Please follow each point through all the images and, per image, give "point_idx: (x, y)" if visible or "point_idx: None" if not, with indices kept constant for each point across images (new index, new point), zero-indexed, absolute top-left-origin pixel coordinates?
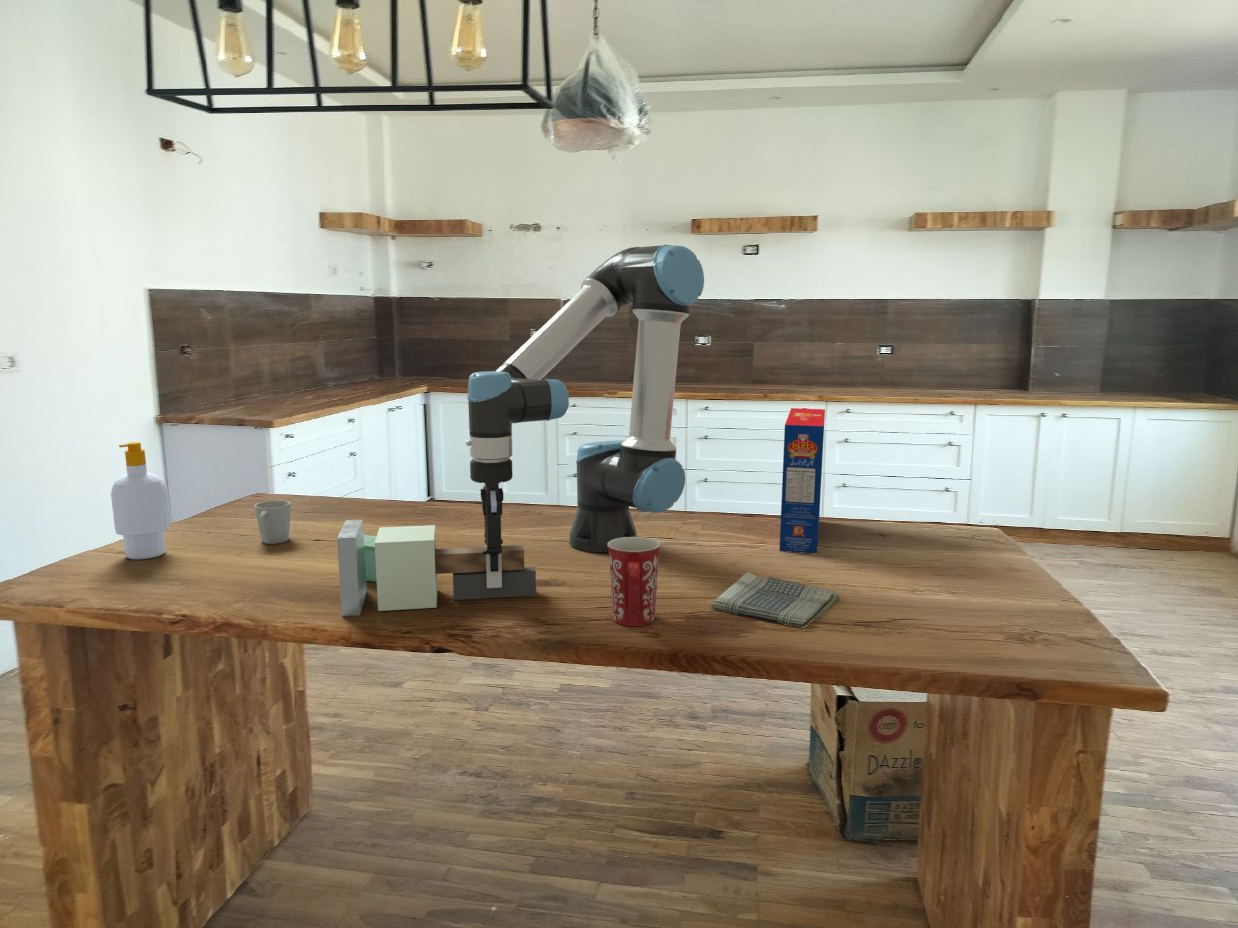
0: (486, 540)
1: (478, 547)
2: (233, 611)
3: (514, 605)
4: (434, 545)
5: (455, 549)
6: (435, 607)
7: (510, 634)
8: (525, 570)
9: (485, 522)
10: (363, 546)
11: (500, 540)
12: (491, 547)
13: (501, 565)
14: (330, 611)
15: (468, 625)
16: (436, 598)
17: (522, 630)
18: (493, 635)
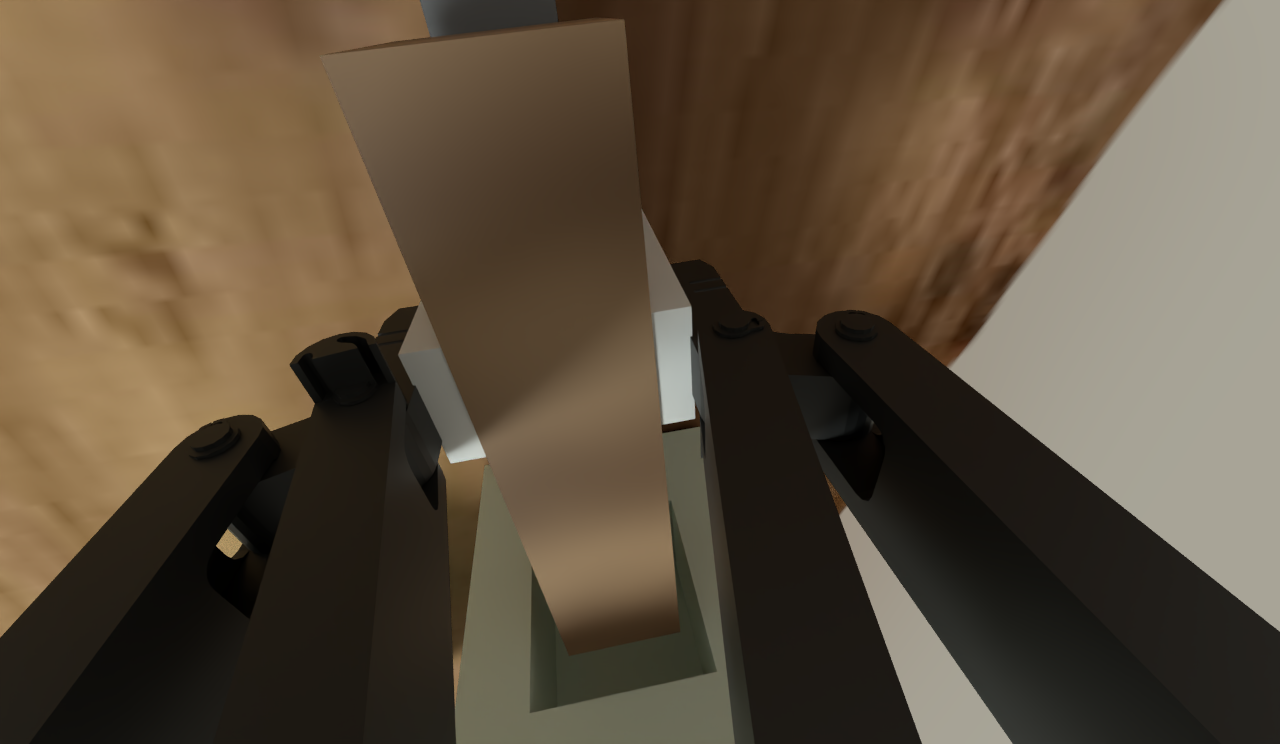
0: (445, 493)
1: (519, 493)
2: None
3: (718, 89)
4: (727, 693)
5: (579, 588)
6: (698, 429)
7: (1092, 94)
8: (524, 4)
9: (451, 718)
10: None
11: (981, 404)
12: (863, 427)
13: (663, 253)
14: None
15: (903, 291)
16: (667, 449)
17: (1084, 25)
18: (1055, 178)
